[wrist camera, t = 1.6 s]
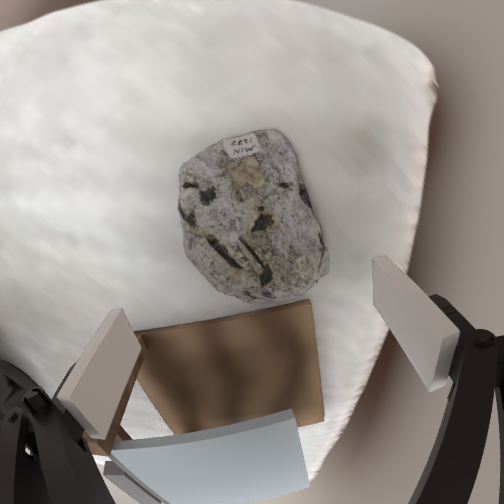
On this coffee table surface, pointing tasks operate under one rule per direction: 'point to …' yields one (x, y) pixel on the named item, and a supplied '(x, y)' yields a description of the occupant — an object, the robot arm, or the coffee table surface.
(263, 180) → the rock
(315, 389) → the frame
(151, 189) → the coffee table surface
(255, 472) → the trapdoor
